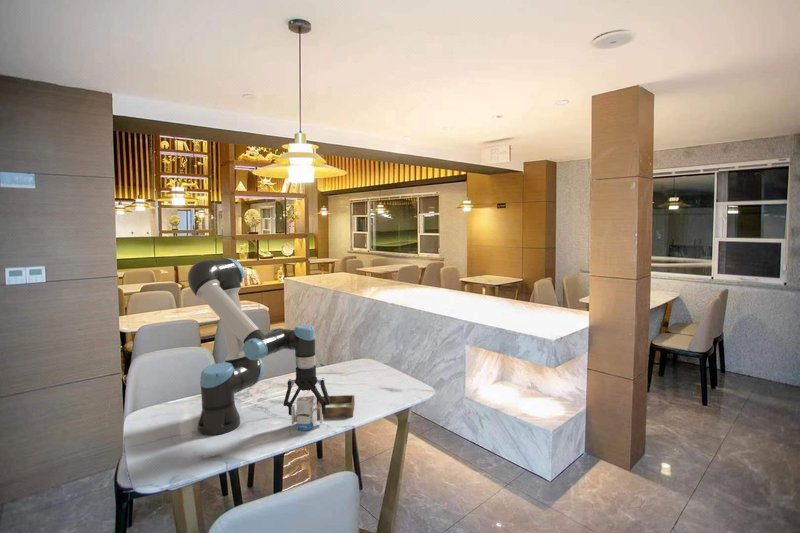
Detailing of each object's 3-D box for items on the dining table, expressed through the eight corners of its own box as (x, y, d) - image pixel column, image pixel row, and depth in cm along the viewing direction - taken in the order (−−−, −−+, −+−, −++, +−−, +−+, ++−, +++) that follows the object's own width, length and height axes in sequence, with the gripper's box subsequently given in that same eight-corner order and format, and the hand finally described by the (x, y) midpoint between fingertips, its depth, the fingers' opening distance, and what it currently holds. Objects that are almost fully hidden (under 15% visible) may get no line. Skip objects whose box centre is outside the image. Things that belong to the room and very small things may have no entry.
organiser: (302, 418, 175) (302, 408, 175) (307, 405, 188) (307, 396, 188) (352, 417, 176) (352, 407, 176) (354, 404, 189) (354, 395, 189)
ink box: (309, 431, 164) (308, 400, 163) (296, 430, 165) (295, 399, 164) (317, 421, 172) (317, 392, 171) (306, 420, 173) (305, 391, 172)
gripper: (273, 370, 162) (275, 427, 164) (334, 368, 164) (336, 425, 165) (277, 363, 170) (279, 419, 172) (336, 362, 171) (338, 417, 173)
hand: (307, 422), depth 169 cm, fingers open, 10 cm apart
